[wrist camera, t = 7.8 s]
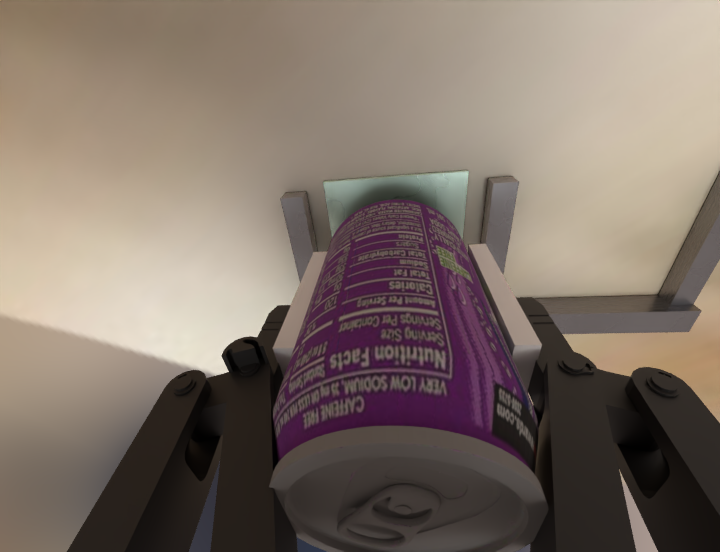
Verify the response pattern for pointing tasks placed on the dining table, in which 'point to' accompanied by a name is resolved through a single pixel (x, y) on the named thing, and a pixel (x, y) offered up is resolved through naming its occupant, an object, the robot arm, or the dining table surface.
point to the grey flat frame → (448, 196)
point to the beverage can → (405, 400)
